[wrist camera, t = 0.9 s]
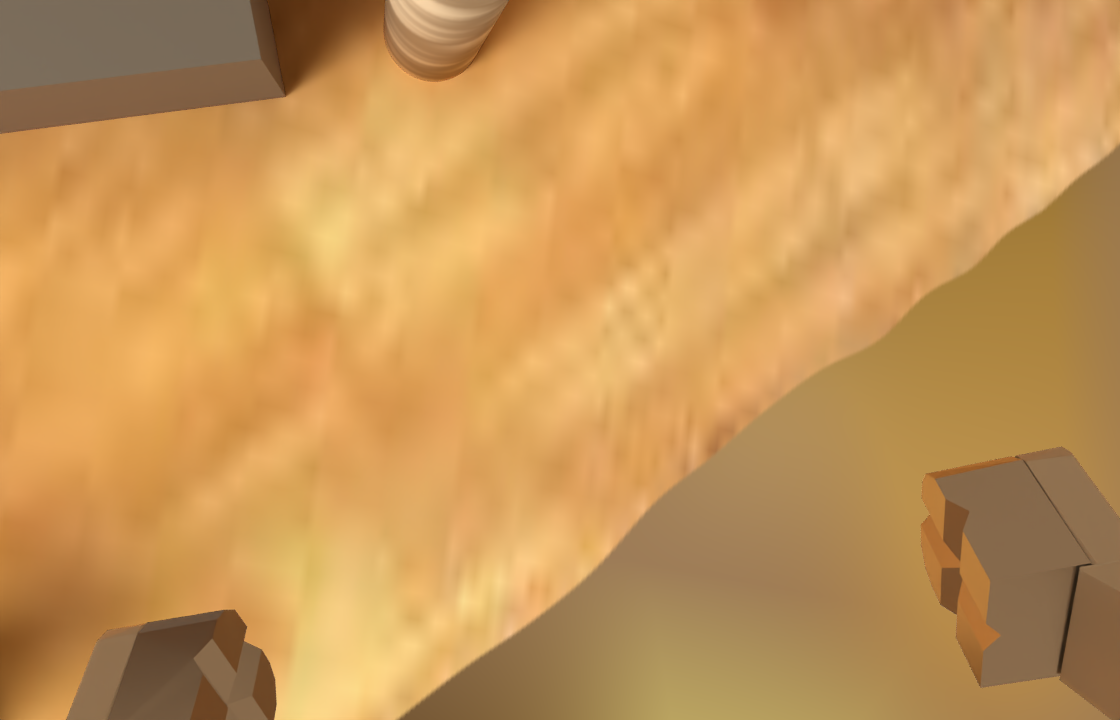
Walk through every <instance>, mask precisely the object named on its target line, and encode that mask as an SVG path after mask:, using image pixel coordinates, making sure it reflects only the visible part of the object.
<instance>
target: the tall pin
mask: <svg viewBox="0 0 1120 720" xmlns="http://www.w3.org/2000/svg"><path fill="white" fill-rule="evenodd" d="M508 1H509V0H385V14H384V39H385V43H386V46H387V49H388V51H389V53H390V55H391V57H392V58H393V60H394V61H395V63H396V64H397V65H398V66H399V67H400V68H401V69H402V70H403V71H405V72H406V73H408V74H409V75H411V76H413V77H415V78H417V79H420V80H424V81H431V82H438V81H445V80H448V79H451V78H454V77H456V76H458V75H459V74H461V73H462V72H463V71H464V70H465V69H466V68H468V66H469V65H470V64H471V63H472V61H473V59H474V58H475V56H476V54H477V53H478V51H479V49H480V48H481V46H482V44H483V43H484V41H485V39H486V38H487V36H488V34H489V33H490V31H491V29H492V28H493V26H494V24H495V23H496V21H497V19H498V18H499V16H500V14H501V13H502V11H503V10H504V8H505V6H506V5H507V3H508Z"/></svg>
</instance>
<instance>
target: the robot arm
mask: <svg viewBox="0 0 1120 720" xmlns="http://www.w3.org/2000/svg"><path fill="white" fill-rule="evenodd" d="M922 500H923V502H924V504H925V506H926V508H927V510H928V512H929V514H930V515H929V516H928V517H927V518H926V520H925V521H924V522H923V523H922V524H921V547H922V552H923V558H924V563H925V568H926V571H927V574H928V577H929V579H930V582H931V585H932V587H933V590H934V592H935V594H936V596H937V598H938V601H939V603H940V605H942V606H943V607H945V608H946V609H948V610H950V611H951V612H953V613H954V614H956V615H957V625H956V626H957V627H956V639H957V641H958V643H959V645H960V647H961V649H962V651H963V653H964V655H965V657H966V659H967V661H968V663H969V665H970V667H971V670H972V672H973V673H974V676H975V678H976V680H977V682H978V684H979V686H980V687H981V688H982V687H989V686H995V685H1002V684H1009V683H1016V682H1022V681H1029V680H1036V679H1042V678H1049V677H1056V676H1060V681H1062V682H1063V683H1064V684H1066V685H1067V686H1068V687H1069V688H1071V689H1072V690H1073V691H1075V692H1076V693H1077V694H1079V695H1080V696H1081V697H1083V698H1084V699H1085V700H1086V701H1088V702H1089V703H1090V704H1092V705H1093V706H1094V707H1096V708H1097V709H1098V710H1100V711H1101V712H1102V713H1103V714H1105V715H1106V716H1107V717H1109V718H1110V719H1111V720H1120V518H1119V517H1118V515H1117V514H1116V513H1115V511H1114V510H1113V508H1112V507H1111V506H1110V504H1109V503H1108V502H1107V500H1106V499H1105V498H1104V496H1103V495H1102V494H1101V492H1100V491H1099V489H1098V488H1097V487H1096V485H1095V484H1094V483H1093V482H1092V480H1091V479H1090V477H1089V476H1088V475H1087V473H1086V472H1085V470H1084V469H1083V468H1082V466H1081V465H1080V464H1079V462H1078V461H1077V460H1076V458H1075V457H1074V456H1073V454H1072V453H1071V452H1070V451H1068V450H1067V449H1065V448H1063V447H1057V448H1052V449H1048V450H1042V451H1037V452H1032V453H1027V454H1022V455H1017V456H1015V457H1005V458H1000V459H995V460H990V461H986V462H981V463H976V464H971V465H966V466H961V467H956V468H952V469H946V470H941V471H937V472H932V473H927V474H925V477H924V479H923V482H922ZM246 629H247V626H246V625H245V623H244V622H243V620H242V619H241V618H240V616H239V615H238V613H237V612H236V611H235V610H221V611H215V612H209V613H203V614H197V615H191V616H185V617H179V618H173V619H166V620H160V621H154V622H148V623H146V624H140V625H134V626H128V627H122V628H116V629H111V630H107V631H106V632H105V633H104V634H103V635H102V636H101V637H100V638H99V639H98V640H97V642H96V644H95V646H94V649H93V652H92V654H91V657H90V659H89V662H88V665H87V667H86V670H85V672H84V675H83V677H82V680H81V683H80V685H79V688H78V690H77V693H76V696H75V698H74V701H73V703H72V706H71V708H70V711H69V714H68V716H67V719H66V720H274V717H275V711H276V705H277V703H276V686H275V678H274V675H273V671H272V668H271V665H270V662H269V661H268V659H267V657H266V656H265V654H264V652H263V651H262V649H259V648H257V647H255V646H253V645H251V644H249V643H247V642H245V641H244V638H245V633H246Z"/></svg>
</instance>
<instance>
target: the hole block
mask: <svg viewBox="0 0 1120 720" xmlns="http://www.w3.org/2000/svg"><path fill="white" fill-rule="evenodd" d="M280 97H286V96H285V91H284V86H283V80H282V75H281V70H280V65H279V59H278V54H277V49H276V44H275V38H274V33H273V28H272V23H271V18H270V12H269V7H268V2H267V0H0V134H1V133H9V132H16V131H24V130H32V129H40V128H47V127H55V126H63V125H71V124H78V123H86V122H94V121H102V120H109V119H117V118H125V117H133V116H140V115H148V114H156V113H164V112H171V111H179V110H187V109H195V108H202V107H210V106H218V105H226V104H234V103H241V102H249V101H257V100H265V99H272V98H280Z"/></svg>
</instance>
